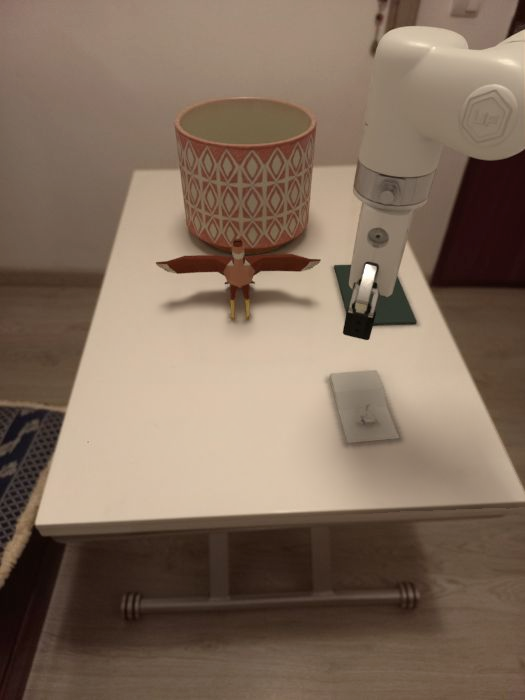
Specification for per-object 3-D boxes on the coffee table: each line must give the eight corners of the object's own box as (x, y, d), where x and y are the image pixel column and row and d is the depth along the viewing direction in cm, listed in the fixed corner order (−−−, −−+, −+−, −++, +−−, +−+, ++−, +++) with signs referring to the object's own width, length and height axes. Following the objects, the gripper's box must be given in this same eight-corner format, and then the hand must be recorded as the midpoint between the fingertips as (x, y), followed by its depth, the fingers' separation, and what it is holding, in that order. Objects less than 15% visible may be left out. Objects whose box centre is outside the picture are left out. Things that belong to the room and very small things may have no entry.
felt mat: (391, 266, 95) (392, 263, 95) (416, 324, 83) (417, 321, 82) (334, 267, 95) (334, 264, 95) (349, 325, 82) (350, 323, 82)
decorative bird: (152, 334, 75) (143, 240, 69) (169, 303, 92) (162, 225, 86) (326, 330, 76) (330, 237, 70) (310, 300, 93) (313, 223, 87)
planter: (297, 269, 94) (306, 152, 78) (170, 253, 98) (152, 138, 82) (314, 206, 113) (324, 101, 97) (207, 194, 117) (199, 91, 101)
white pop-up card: (375, 375, 74) (377, 364, 72) (399, 438, 65) (402, 427, 64) (329, 379, 73) (331, 368, 71) (347, 442, 65) (350, 432, 63)
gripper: (423, 229, 39) (382, 366, 51) (438, 151, 51) (401, 278, 63) (337, 213, 41) (317, 349, 53) (370, 142, 52) (347, 267, 65)
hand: (363, 310), depth 58 cm, fingers open, 9 cm apart
